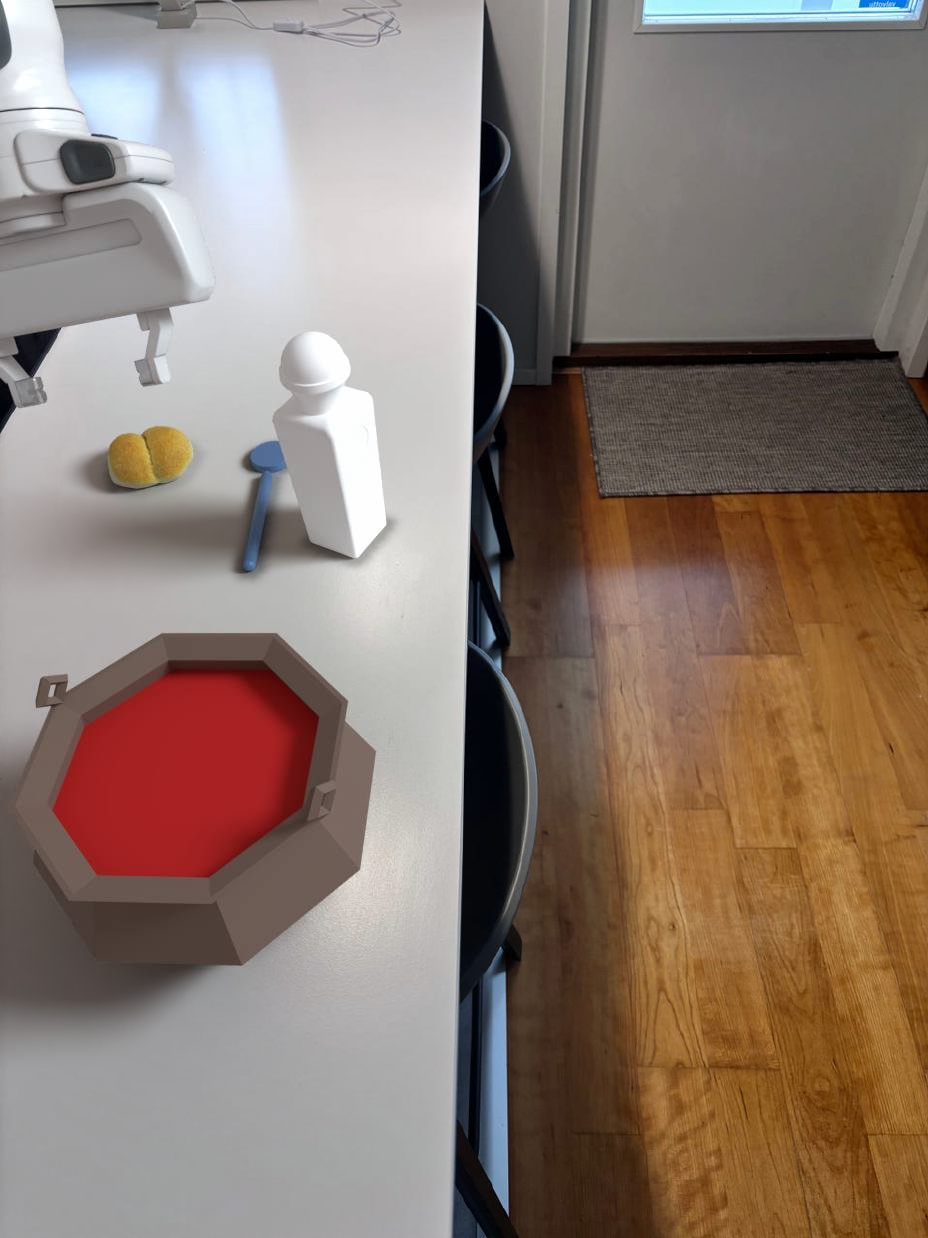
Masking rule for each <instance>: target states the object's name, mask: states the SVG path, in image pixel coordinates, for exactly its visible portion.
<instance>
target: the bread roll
mask: <svg viewBox="0 0 928 1238" xmlns="http://www.w3.org/2000/svg"><path fill="white" fill-rule="evenodd" d="M194 455H195V451H194V448H193V445H192V442H191V440H190V439H189V437H188V436H187V435H186V434H185V433H184V432H183V431H181V430H180V429H177V428H175V427H172V426H167V425H165V426H164V425H154V426H152V427H149V428H147V429H144V431H143V432H142V433H141V434H139V433H135V432H127V433H123V434H120V435H118V436H117V437H115V438H114V439H113V440H112V441H111V442H110V444H109V447H108V451H107V453H106V459H107V468H108V473H109V476H110V479H111V481H112V482H113V483H114V484H115V485H117V486H119V487H124V488H129V489H144V488H148V487H152V486H155V485H158V484H167V483H170V482H174V481H176V480H178V479H179V478H181V477H182V475H184V474H185V472H186V470H187V469H188V467H189V466H190V464H191V463H192V462H193V460H194Z"/></svg>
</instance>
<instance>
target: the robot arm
mask: <svg viewBox="0 0 928 1238" xmlns="http://www.w3.org/2000/svg"><path fill="white" fill-rule="evenodd" d="M64 47H65V44H64V37H63V32H62V30H61V26H60V22H59V19H58V15H57V11H56V8H55V4H54V1H53V0H0V379H1V381H3V382H4V383H5V384H7V385H8V388H9V392H10V394H11V397H12V401H13V403H14V405H15V407H16V408H17V409H24V408H30V407H35V406H40V405H42V404H46V403H47V402H48V395H47V392H46V391H45V390H44V386H45V385H44V382H43V379H42V376H36V377H31V376H30V375H29V374H28V373H27V372H26V371H25V369H24V368H23V367H22V366H21V365H20V363H18V361H17V360H16V359H15V358H14V356H13V355H18V353H19V349H18V347H17V344H16V340H15V337H18V336H24V335H29V334H34V333H35V334H36V333H40V332H46V331H50V330H56V329H61V328H62V329H63V328H67V327H72V326H77V325H83V324H89V323H94V322H99V321H104V320H110V319H116V318H120V317H121V318H122V317H125V316H133V315H136V319H137V322H138V326H139V329H140V330H141V332H146V331H149V332H148V339H147V345H146V349H145V355H144V358H140V359H136V360H133V362H134V367H135V369H136V372H137V374H139V376H138V380H139V384H140V385H141V387H143V388H146V387H153V386H158V385H164V384H168V383H170V382H171V380H172V374H171V371H170V368H169V367H170V366H169V363H168V360H167V357H166V355H167V354H168V351H169V346H170V343H171V338H172V335H173V332H174V331H173V330H174V327H175V324H174V321H173V317H172V312H171V309H170V308H175V307H180V306H186V305H190V304H198V303H201V302H206V301H207V302H208V301H209V300H210V299H211V297H212V295H213V292H214V290H215V287H216V284H217V279H216V273H215V268H214V265H213V264H214V263H213V261H212V258H211V254H210V251H209V248H208V244H207V242H206V238H205V235H204V233H203V229H202V227H201V225H200V222H199V220H198V219H199V218H198V217H197V215H196V212H195V210H194V208H193V205H191V203H190V201H189V200H188V198H187V196H185V195H184V194H183V193H182V192H181V191H180V190H178V189H176V188H174V187H171V186H169V185H171V184H173V182H174V180H175V178H176V171H175V165H174V161H173V158H172V156H171V154H170V153H169V152H168V151H167V150H165V149H163V148H161V147H157V146H154V145H150V144H147V143H143V142H138V141H131V140H125V139H119V138H118V137H116V136H113V135H108V134H105V133H104V134H102V133H90V129H89V126H88V122H87V119H86V116H85V112H84V109H83V107H82V105H81V102H80V101H79V99H78V97H77V95H76V94H75V92H74V90H73V88H72V85H71V84H70V81H69V79H68V75H67V72H66V65H65V48H64Z"/></svg>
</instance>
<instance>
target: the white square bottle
mask: <svg viewBox="0 0 928 1238" xmlns="http://www.w3.org/2000/svg"><path fill="white" fill-rule="evenodd" d="M351 369H352V368H351V364H350V361H349V358H348V356H347V355H346V353H344V351H343V349H342V347H341V345H340V344H339V343H338V342H337V340H335V339H334V338H333V337H331V336H330V335H328V334H327V333H323V332H320V331H315V330H313V331H311V330H310V331H304V332H300V333H299V334H296V335H295V336H293V337H292V338H291V339H290V340H289V341H288V342H287V343H286V344H285V346H284V348H283V349H282V352H281V356H280V364H279V368H278V376H279V381H280V384H281V386H283V388H285V389H286V390H287V391H289V392H290V393H291V394H292V396H291V397H289V398H288V400H286V401H285V402H284V403H283V404H282V405H281V406H280V407H279V408H277V409H276V410H275V411H274V413H273V415H272V424H273V427H274V430H275V433H276V436H277V441H279V443H280V446H281V450H282V453H283V456H284V459H285V462H286V466H287V467H286V469H287V472H288V475H289V478H290V482H291V484H292V488H293V491H294V494H295V497H296V500H297V503H298V507H299V510H300V513H301V517H302V520H303V523H304V526H305V530H306V532H307V535H308V538H309V541H310V543H312V544H314V545H317V546H319V547H322V548H325V549H328V550H330V551H333V552H336V553H338V554H341V555H344V556H346V557H349V558H352V559H358V558H359V557H360V556H361V555H362V553H363V552H364V551H365V550H366V549H367V548H368V546H369V545H370V544H371V543H372V542H373V541H374V540H375V538H376V537H377V536H378V535H379V534H380V533H381V532H382V530H383V529H384V528H385V527H386V526H387V517H386V509H385V498H384V490H383V489H384V488H383V482H382V472H381V464H380V463H381V462H380V451H379V443H378V436H377V435H378V434H377V426H376V417H375V406H374V399H373V397H372V395H371V394H370V393H369V392H367V391H364V390H360V389H356V388H353V387H350V386H347V385H346V381H347V380H348V378H349V377H350V375H351V371H352V370H351Z"/></svg>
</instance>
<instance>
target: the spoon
mask: <svg viewBox="0 0 928 1238" xmlns="http://www.w3.org/2000/svg"><path fill="white" fill-rule="evenodd" d="M249 458H250V462H251V465H252V467H253V468H254V469H255V470H256V471H257V472H260V473H261V475H260V480H259V484H258V489H257V495H256V499H255V503H254V508H253V513H252V519H251V523H250V528H249V533H248V538H247V544H246V548H245V552H244V557H243V558H244V559H243V563H242V567H243V569H244V570H245V571H247V572H252V571H254V570H255V569H256V567H257V562H258V557H259V552H260V546H261V542H262V537H263V530H264V525H265V521H266V515H267V510H268V506H269V499H270V494H271V489H272V483H273V480H274V479H273V478H274V476H273V473H278V472H281V471H283V470H285V469H287V466H286V462H285V459H284V456H283V453H282V450H281V446H280V443H279V440H269V441H265V442H262V443H260V444H258V445H256V446H255V447H254V448H253V449H252V450H251V452H250V456H249Z"/></svg>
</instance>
